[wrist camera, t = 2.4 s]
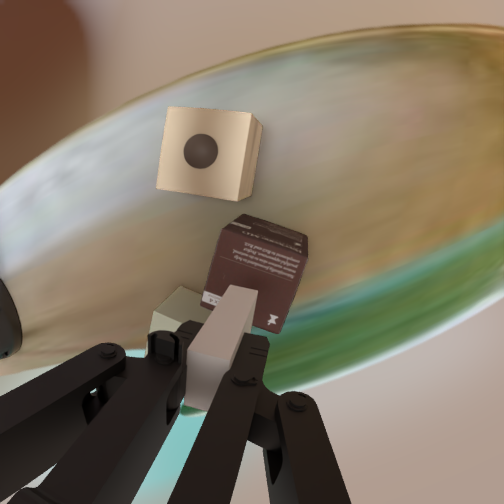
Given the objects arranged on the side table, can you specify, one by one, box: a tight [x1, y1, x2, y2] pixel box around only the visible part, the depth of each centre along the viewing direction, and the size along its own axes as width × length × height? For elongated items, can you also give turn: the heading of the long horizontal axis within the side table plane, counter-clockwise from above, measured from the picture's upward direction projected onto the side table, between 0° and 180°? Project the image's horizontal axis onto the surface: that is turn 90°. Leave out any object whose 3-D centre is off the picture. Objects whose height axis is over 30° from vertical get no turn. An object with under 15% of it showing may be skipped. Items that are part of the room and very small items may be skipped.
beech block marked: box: [156, 107, 263, 201], centre depth 23 cm, size 6×6×6 cm
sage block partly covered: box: [144, 286, 212, 358], centre depth 27 cm, size 6×6×6 cm
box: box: [200, 214, 308, 334], centre depth 24 cm, size 6×6×7 cm
